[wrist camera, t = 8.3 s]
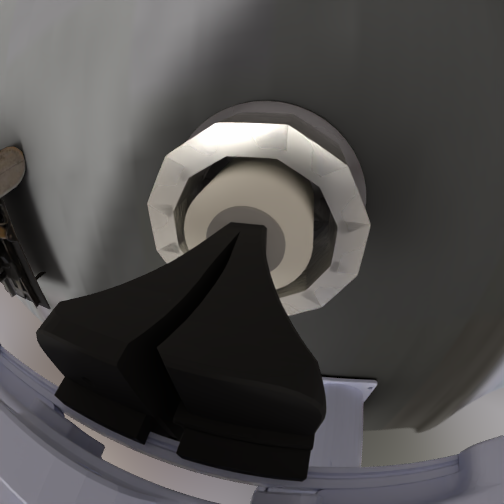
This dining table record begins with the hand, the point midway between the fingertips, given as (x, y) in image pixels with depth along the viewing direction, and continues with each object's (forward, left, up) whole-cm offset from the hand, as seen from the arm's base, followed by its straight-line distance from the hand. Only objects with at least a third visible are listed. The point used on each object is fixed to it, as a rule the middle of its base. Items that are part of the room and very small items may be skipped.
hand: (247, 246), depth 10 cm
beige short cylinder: (0, 0, -4) cm, 4 cm away
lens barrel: (0, 0, -5) cm, 5 cm away
